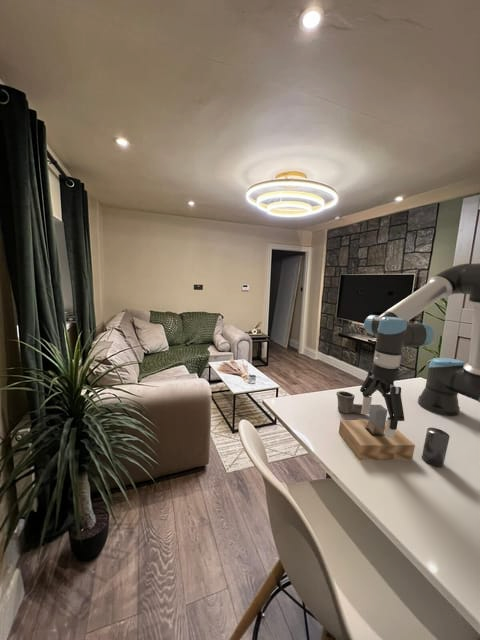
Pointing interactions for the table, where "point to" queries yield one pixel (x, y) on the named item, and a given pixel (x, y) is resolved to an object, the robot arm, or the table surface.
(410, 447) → the block
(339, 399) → the pipe
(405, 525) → the table surface
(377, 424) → the square bit
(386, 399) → the robot arm
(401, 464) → the table surface
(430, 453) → the round bit
